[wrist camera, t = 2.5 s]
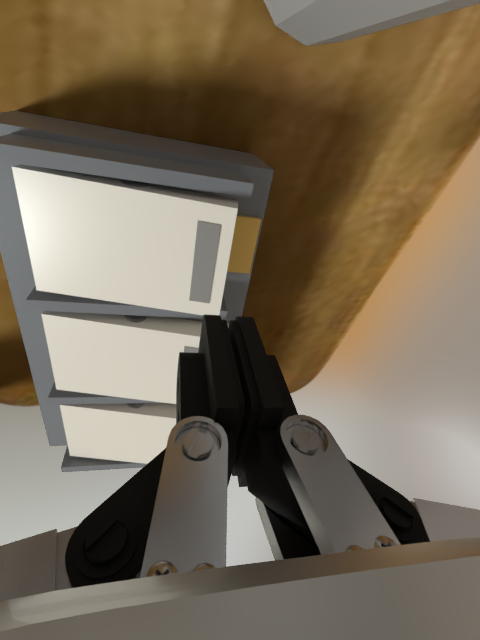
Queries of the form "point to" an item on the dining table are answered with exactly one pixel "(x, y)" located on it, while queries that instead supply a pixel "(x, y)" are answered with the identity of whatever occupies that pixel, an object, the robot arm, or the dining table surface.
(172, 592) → the robot arm
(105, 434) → the panel
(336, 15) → the water bottle
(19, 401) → the dining table surface
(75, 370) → the panel
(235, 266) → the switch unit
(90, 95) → the dining table surface
